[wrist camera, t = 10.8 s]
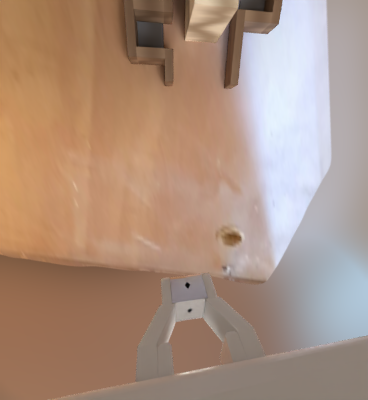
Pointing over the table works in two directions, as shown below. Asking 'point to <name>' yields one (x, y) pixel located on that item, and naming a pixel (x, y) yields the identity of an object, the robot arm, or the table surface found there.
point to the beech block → (207, 19)
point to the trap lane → (162, 14)
